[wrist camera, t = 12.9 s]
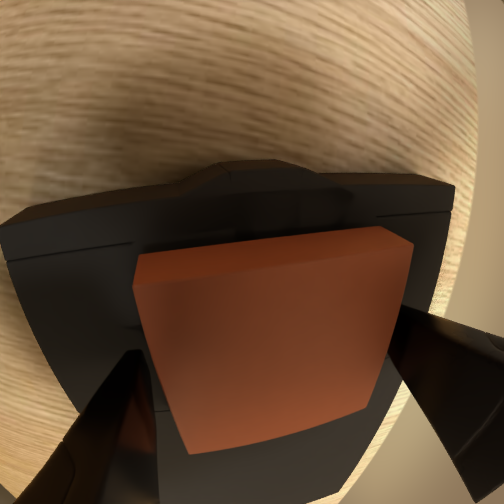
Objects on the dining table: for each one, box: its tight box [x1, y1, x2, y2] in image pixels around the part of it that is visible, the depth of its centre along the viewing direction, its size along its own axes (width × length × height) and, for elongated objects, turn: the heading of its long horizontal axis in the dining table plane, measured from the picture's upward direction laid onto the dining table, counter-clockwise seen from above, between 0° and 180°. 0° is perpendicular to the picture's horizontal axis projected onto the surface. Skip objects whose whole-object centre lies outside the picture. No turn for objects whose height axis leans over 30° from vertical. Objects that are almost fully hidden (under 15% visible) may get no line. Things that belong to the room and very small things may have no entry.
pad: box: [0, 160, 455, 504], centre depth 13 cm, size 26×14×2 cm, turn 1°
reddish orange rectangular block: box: [132, 226, 414, 454], centre depth 8 cm, size 6×6×4 cm
